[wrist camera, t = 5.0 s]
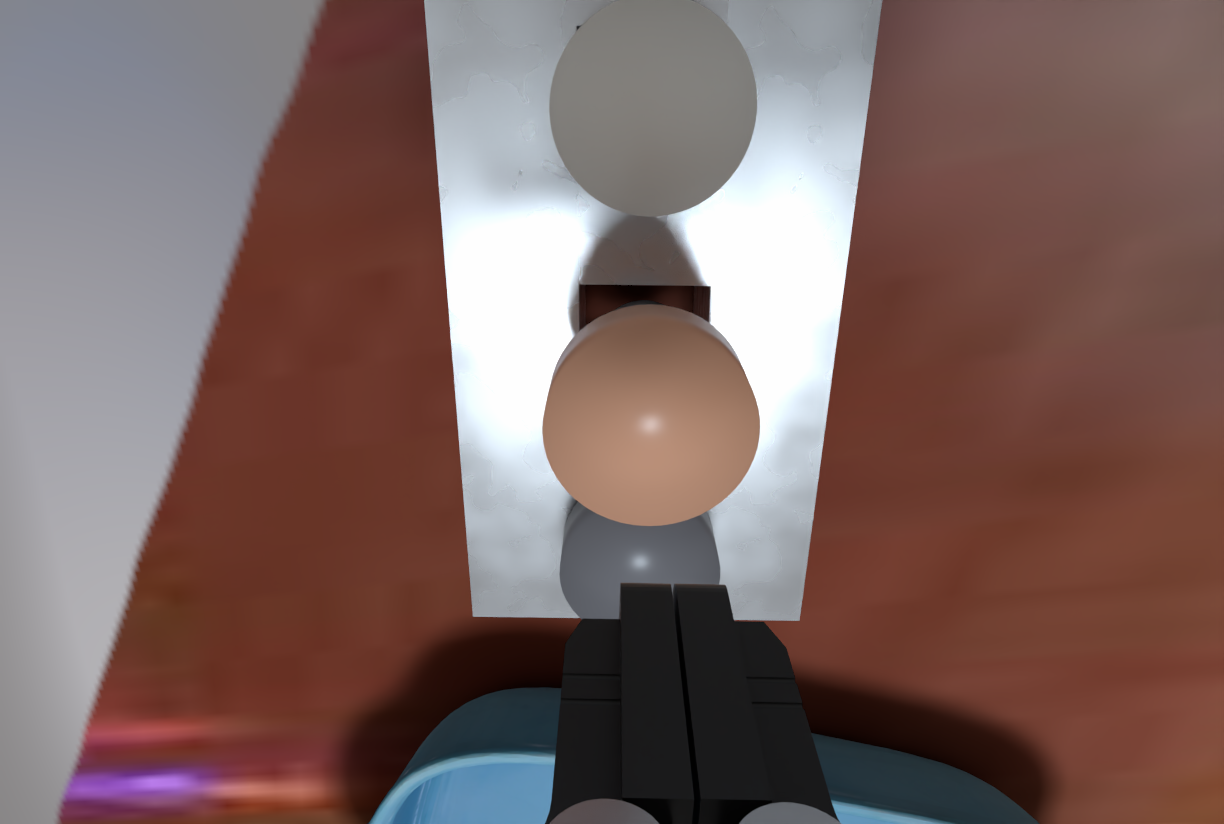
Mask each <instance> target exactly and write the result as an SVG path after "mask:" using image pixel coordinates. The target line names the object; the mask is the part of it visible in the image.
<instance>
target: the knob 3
mask: <svg viewBox="0 0 1224 824" xmlns="http://www.w3.org/2000/svg"><path fill="white" fill-rule="evenodd" d="M559 575H560V584H561V588H562V592H563V594H564V596H565V599H566V601H567V602H568V604H569V605H570V607H571V608H572V610H573V611H574V612H575V613H576V614H577V615H578V616H579V617H580V618H581V619H583V618H587V619H619V604H620V583H663V584H671V587H672V595H673V587H674V584H719V582H720V563H719V557H718V552H717V547H716V542H715V537H714V533H713V528H712V524H711V521H710V518H709V515H708V513H707V511H706V512H705V513H703V514H701V515H699V516H696V517H694V518H691V519H689V520H685V521H682V522H678V523H674V524H668V525H662V526H639V525H631V524H625V523H620V522H617V521H614V520H611V519H608V518H605V517H603V516H601V515H599V514H596V513H595V512H593V511H591V510H589V509H588V508H586V507H585V506H583V505H582V504H581V503H579V502H577V504H576V505H575V506H574V507H573V509H572V511H571V513H570V514H569V516H568V519H567V522H566V525H565V529H564V536H563V544H562V553H561V561H560V574H559Z"/></svg>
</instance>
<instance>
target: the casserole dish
mask: <svg viewBox="0 0 1224 824" xmlns="http://www.w3.org/2000/svg"><path fill="white" fill-rule="evenodd" d="M560 700H561V688H549V687H540V688H516V689H507V690H501V691H497V692H493V693H489V694H486V695H483V696H481V697H478V698H476V699H474V700H471V701H469V702H467V703H465V704H464V705H462V706H461V707H459V708H458V709H456V710H455V711H453V712H452V713H450V714H449V715H448V716H447V717H446V718H445V719H444V720H443V721H441V722H440V724H439V725H438V726H437V727H436V728H435V729H434V730H433V731H432V732H431V733H430V734H429V736H428V737H427V738H426V739H425V741H424V742H423V743H422V744H421V746H420V747H419V749H418V750H417V752H416V753H415V755H414V756H413V758H412V759H411V760H410V762H409V763H408V765H407V766H406V768H405V769H404V771H403V772H402V774H401V775H400V777H399V778H398V780H397V781H396V783H395V784H394V785H393V787H392V788H391V789H390V790H389V792H388V793H387V795H386V796H385V797H384V799H383V800H382V802H381V804H380V805H379V807H378V808H377V810H376V812H375V814H374V815H373V817H372V819H371V821H370V822H369V823H368V824H545V822H546V820H547V817H548V814H549V811H550V805H551V799H552V788H553V777H554V765H555V754H556V743H557V732H558V721H559V710H560ZM811 734H812V737H813V740H814V744H815V747H816V751H817V754H818V757H819V761H820V764H821V768H822V771H823V774H824V778H825V781H826V785H827V788H828V791H829V795H830V798H831V802H832V805H833V808H834V810H835V813H836V816H837V818H838V820H839V821H840V823H841V824H1039V823H1038V822H1037V821H1036V820H1035V819H1034V818H1033V817H1032V816H1030V815H1029V814H1028V813H1027V812H1026V811H1025V810H1024V809H1022V808H1021V807H1020V806H1019V805H1017V804H1016V803H1015V802H1014V801H1012V800H1011V799H1010V798H1009V797H1007V796H1006V795H1004V794H1003V793H1002V792H1000V791H999V790H997V789H996V788H994V787H993V786H991V785H989V784H988V783H986V782H984V781H982V780H981V779H979V778H977V777H975V776H973V775H971V774H969V773H967V772H964V771H962V770H960V769H957V768H955V767H952V766H950V765H947V764H944V763H940V762H937V761H934V760H930V759H927V758H923V757H919V756H916V755H912V754H908V753H904V752H900V751H896V750H892V749H888V748H883V747H878V746H873V745H868V744H863V743H858V742H853V741H849V740H844V739H839V738H834V737H829V736H824V735H819V734H814V733H811Z"/></svg>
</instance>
